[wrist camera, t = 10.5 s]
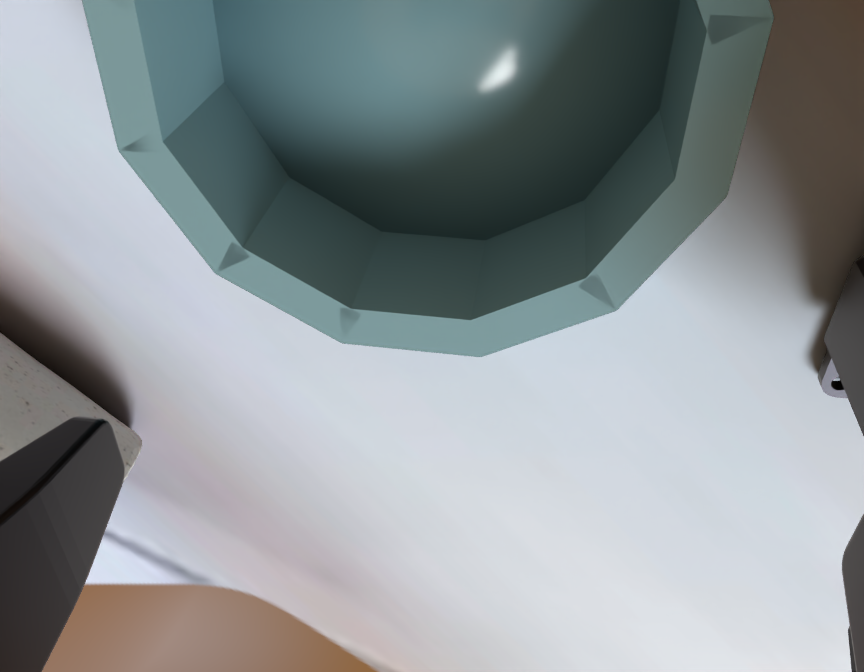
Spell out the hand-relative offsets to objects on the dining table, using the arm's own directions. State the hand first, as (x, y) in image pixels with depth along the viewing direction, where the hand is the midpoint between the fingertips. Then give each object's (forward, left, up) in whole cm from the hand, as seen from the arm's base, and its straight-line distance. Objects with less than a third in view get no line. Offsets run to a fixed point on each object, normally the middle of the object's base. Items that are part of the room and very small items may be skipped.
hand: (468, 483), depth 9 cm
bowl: (+2, -2, -12) cm, 12 cm away
